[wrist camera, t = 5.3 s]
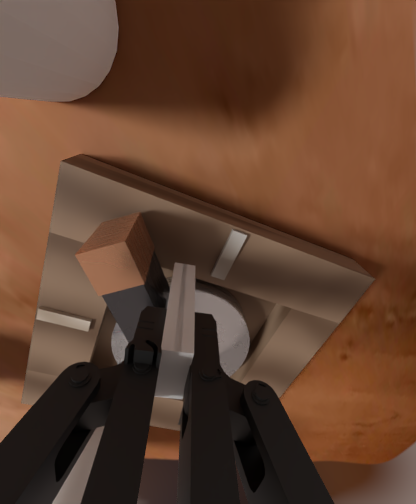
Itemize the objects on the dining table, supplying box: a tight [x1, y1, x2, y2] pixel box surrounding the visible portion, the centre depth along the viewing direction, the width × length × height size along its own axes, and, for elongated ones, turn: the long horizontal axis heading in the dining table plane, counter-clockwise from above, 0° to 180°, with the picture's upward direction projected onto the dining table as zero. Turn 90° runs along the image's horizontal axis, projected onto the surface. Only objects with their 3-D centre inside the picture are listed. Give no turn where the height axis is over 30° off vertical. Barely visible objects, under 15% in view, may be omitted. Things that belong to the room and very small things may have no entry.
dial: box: [75, 212, 250, 377], centre depth 19 cm, size 17×11×7 cm, turn 15°
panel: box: [21, 154, 375, 431], centre depth 23 cm, size 22×22×3 cm
